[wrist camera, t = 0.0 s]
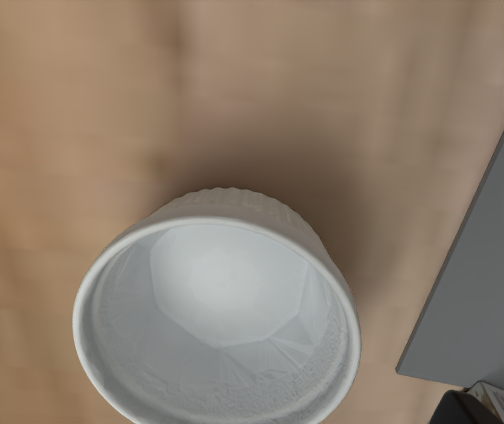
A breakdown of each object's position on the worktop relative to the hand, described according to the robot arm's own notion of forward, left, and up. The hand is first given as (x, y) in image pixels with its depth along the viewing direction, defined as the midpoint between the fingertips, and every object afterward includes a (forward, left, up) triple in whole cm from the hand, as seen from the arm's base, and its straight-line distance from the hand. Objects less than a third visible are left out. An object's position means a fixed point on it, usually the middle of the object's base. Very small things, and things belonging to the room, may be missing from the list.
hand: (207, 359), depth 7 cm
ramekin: (-7, 0, -15) cm, 17 cm away
